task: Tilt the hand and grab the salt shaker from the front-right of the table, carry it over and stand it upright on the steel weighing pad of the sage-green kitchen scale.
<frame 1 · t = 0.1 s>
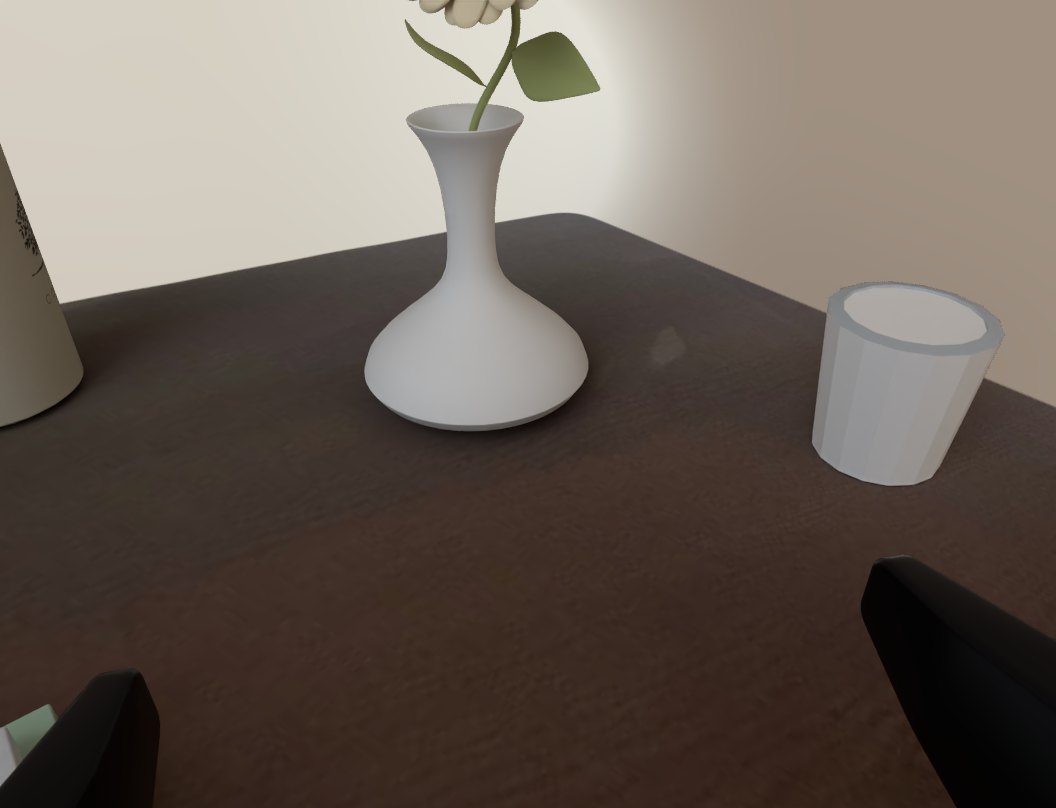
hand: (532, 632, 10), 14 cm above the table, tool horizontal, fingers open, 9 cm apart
flower in vase: (489, 398, 41), on the table
travel mug: (3, 397, 41), on the table
shot glass: (873, 451, 37), on the table
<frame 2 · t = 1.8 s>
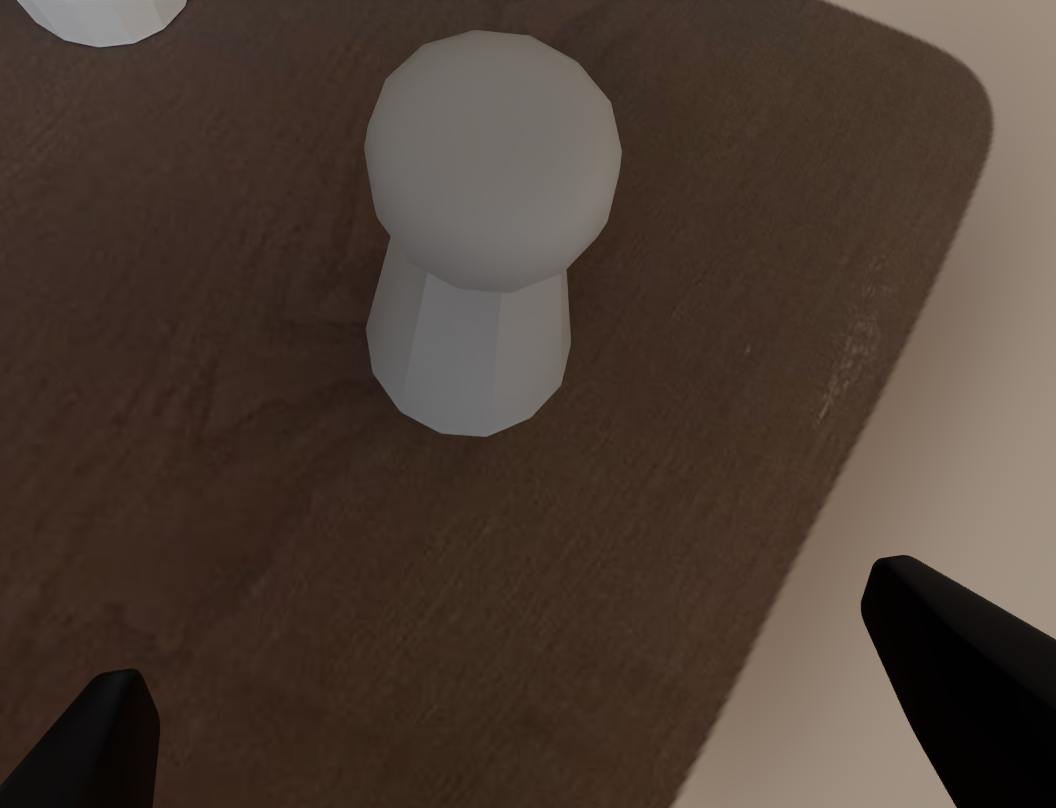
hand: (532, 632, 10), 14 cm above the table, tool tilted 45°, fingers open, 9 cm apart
salt shaker: (465, 362, 25), on the table
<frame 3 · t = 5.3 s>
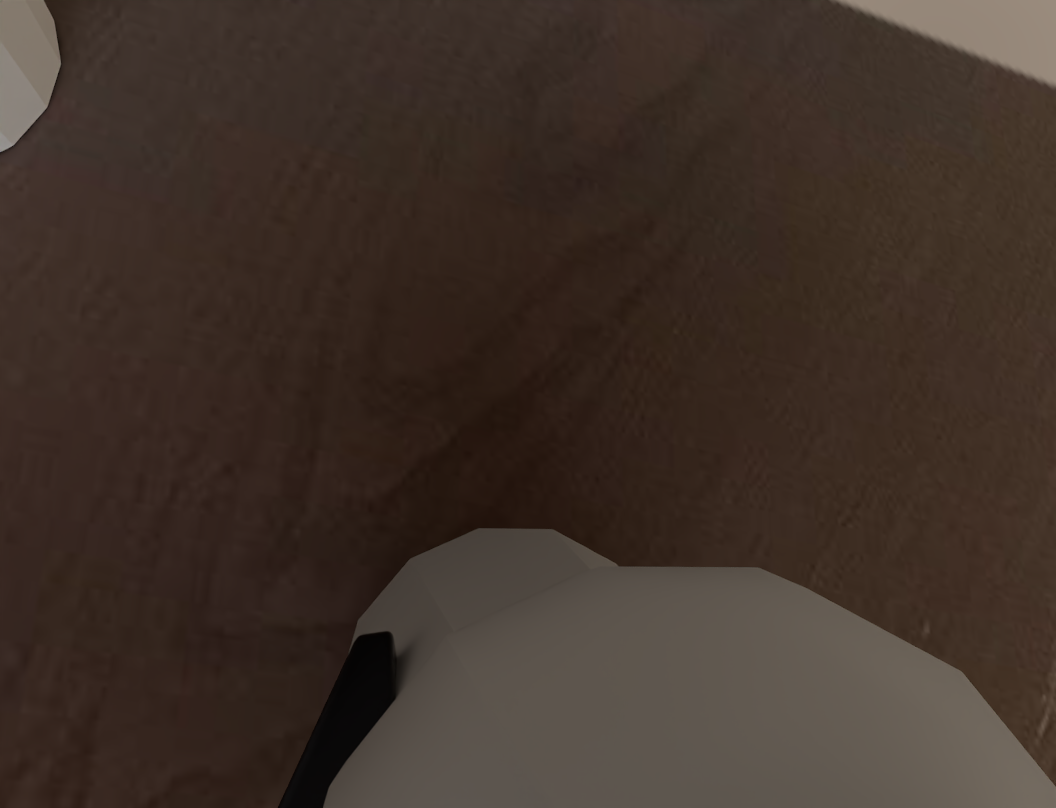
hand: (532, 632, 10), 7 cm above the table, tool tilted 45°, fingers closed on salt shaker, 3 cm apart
salt shaker: (497, 678, 16), on the table, touching gripper
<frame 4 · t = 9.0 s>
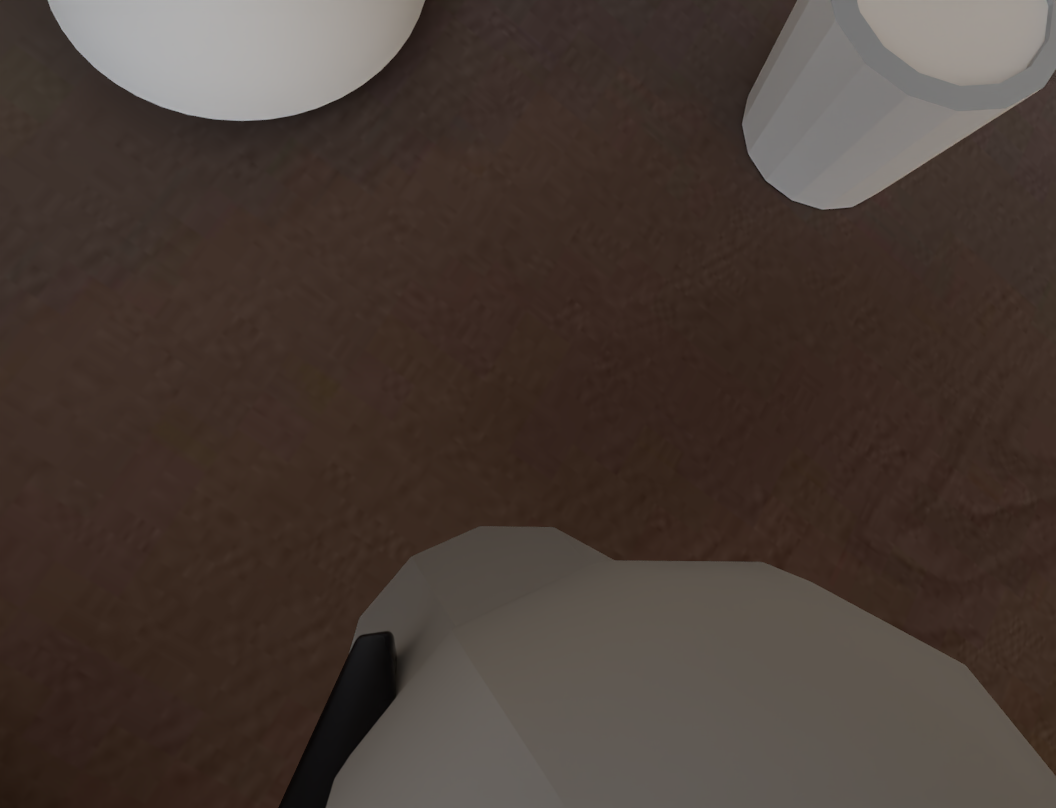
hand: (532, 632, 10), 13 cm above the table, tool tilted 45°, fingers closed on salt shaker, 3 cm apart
flower in vase: (272, 9, 26), on the table
salt shaker: (498, 677, 16), point 7 cm above the table, touching gripper
shot glass: (817, 137, 27), on the table
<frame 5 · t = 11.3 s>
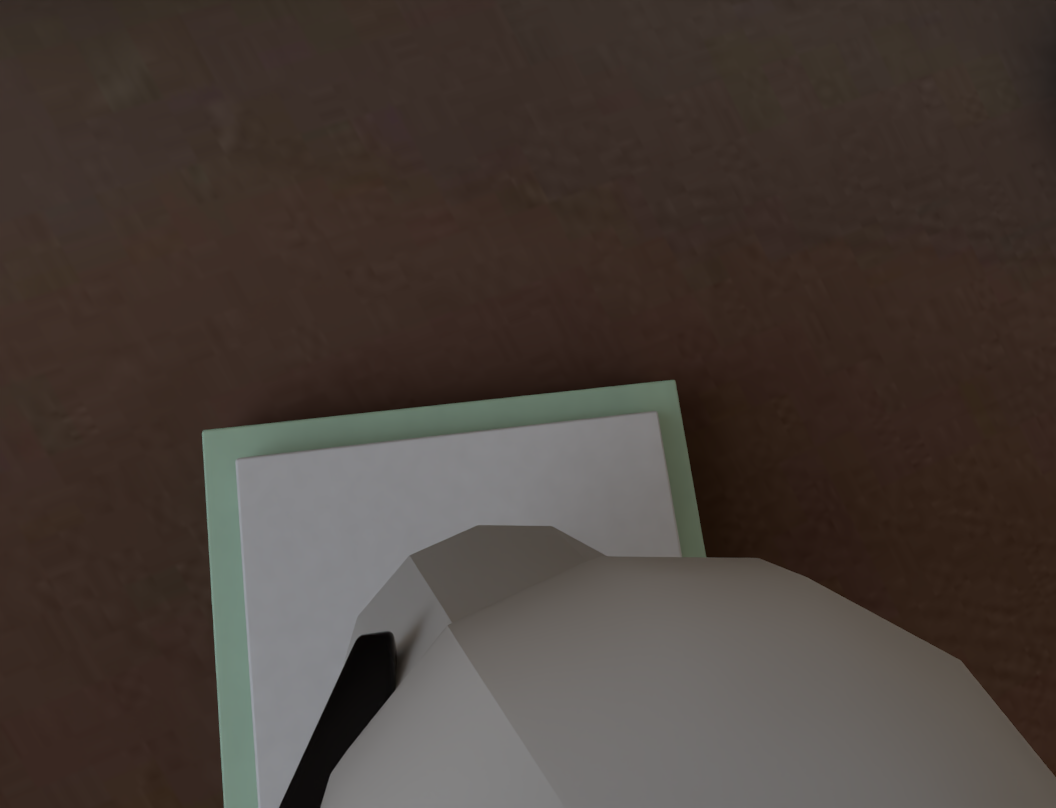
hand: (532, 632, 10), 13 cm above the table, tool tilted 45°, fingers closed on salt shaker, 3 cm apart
salt shaker: (496, 675, 16), point 7 cm above the table, touching gripper
scale: (473, 640, 22), on the table
when the fingers open (10 cm above the table, at t = 12.8 s): salt shaker stays where it is, resting on scale.
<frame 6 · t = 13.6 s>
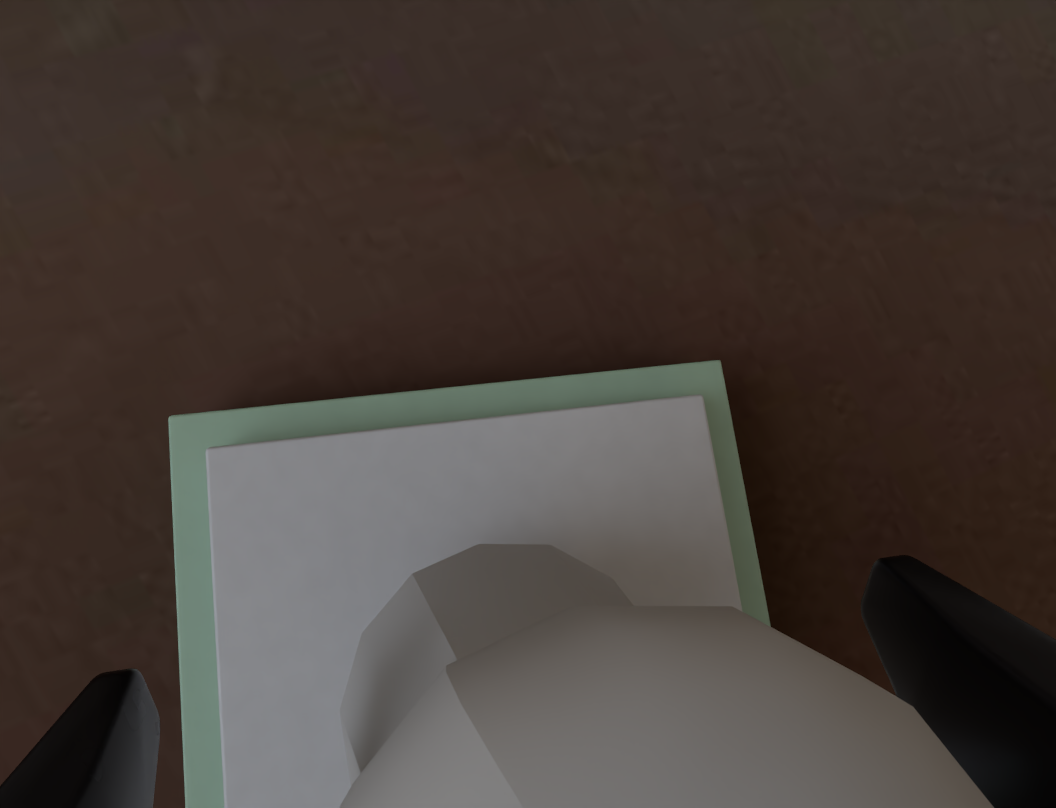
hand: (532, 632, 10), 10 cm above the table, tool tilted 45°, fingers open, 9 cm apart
salt shaker: (497, 688, 16), point 3 cm above the table, touching scale
scale: (486, 663, 19), on the table
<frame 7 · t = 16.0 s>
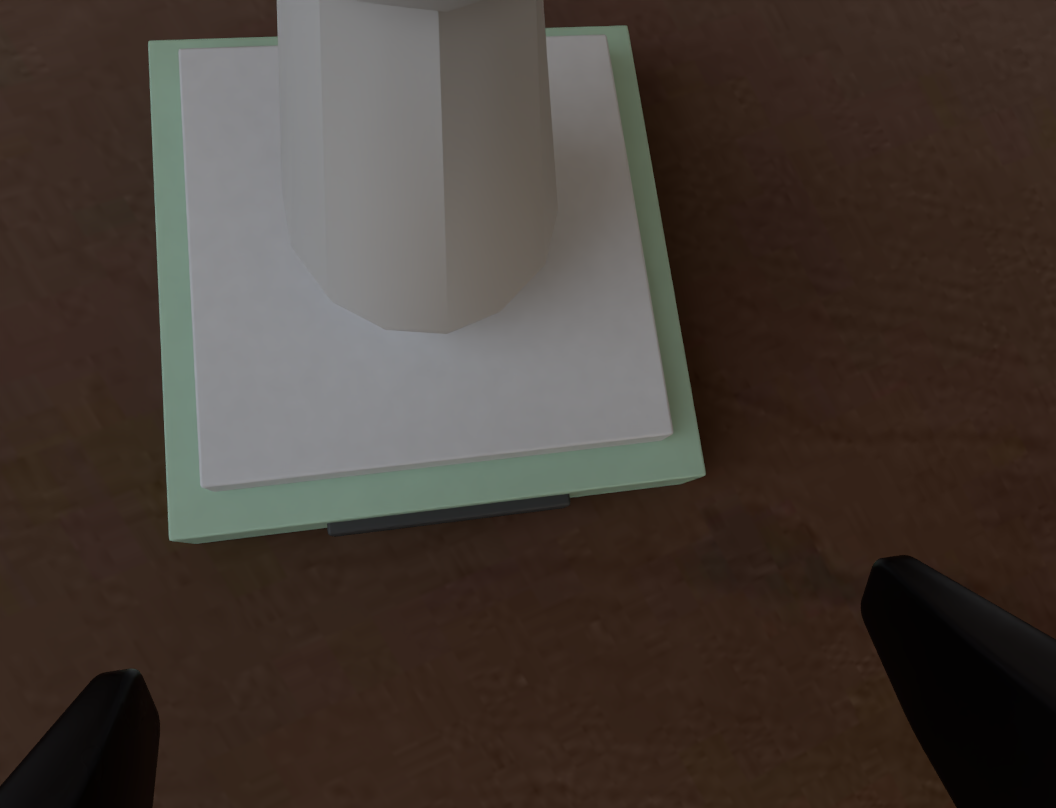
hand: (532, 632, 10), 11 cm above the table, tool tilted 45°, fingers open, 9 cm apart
salt shaker: (423, 249, 19), point 3 cm above the table, touching scale
scale: (423, 282, 22), on the table
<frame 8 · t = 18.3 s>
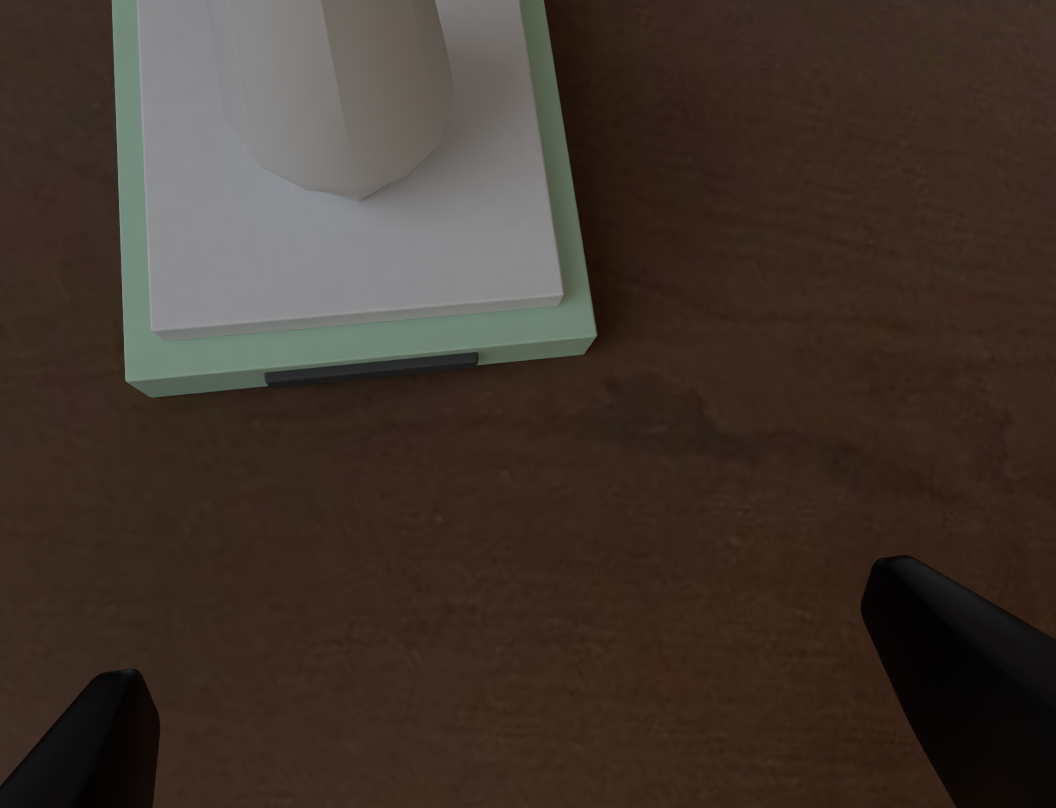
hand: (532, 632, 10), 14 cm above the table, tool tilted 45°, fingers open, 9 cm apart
salt shaker: (348, 137, 22), point 3 cm above the table, touching scale
scale: (356, 179, 25), on the table
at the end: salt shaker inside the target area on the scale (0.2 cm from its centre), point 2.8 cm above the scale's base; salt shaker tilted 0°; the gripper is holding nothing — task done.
